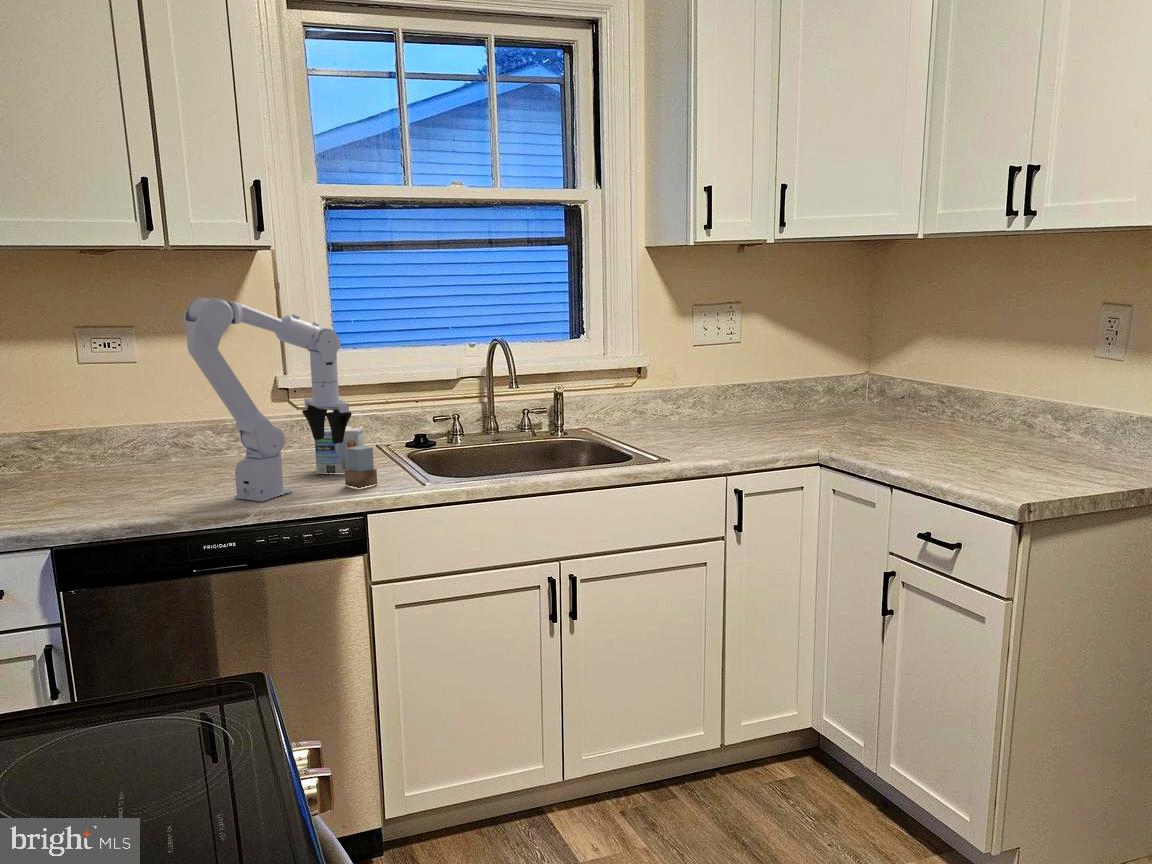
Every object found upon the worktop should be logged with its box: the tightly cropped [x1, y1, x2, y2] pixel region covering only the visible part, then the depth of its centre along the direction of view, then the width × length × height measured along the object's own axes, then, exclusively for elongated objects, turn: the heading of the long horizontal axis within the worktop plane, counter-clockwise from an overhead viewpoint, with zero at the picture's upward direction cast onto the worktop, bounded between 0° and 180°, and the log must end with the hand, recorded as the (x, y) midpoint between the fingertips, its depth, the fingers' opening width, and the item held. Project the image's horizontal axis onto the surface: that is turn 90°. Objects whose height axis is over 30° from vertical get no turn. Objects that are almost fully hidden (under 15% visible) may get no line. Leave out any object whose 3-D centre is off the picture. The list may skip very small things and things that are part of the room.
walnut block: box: [344, 468, 378, 488], centre depth 201 cm, size 5×5×4 cm
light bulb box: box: [314, 425, 365, 475], centre depth 216 cm, size 11×7×11 cm, turn 92°
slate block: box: [347, 445, 375, 472], centre depth 201 cm, size 4×4×5 cm
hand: (328, 441), depth 203 cm, fingers open, 7 cm apart
